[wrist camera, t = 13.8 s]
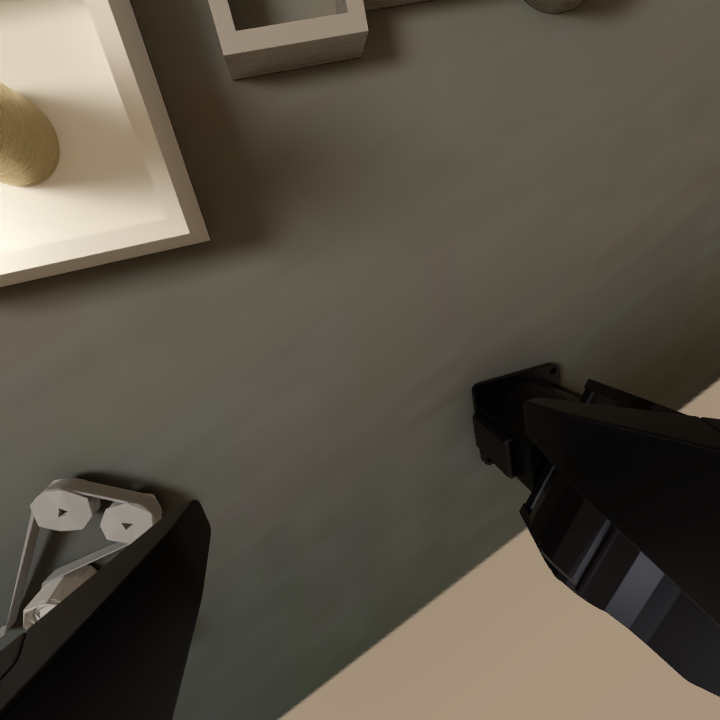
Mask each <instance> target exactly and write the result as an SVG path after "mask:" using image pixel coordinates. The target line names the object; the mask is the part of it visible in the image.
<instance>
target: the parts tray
mask: <svg viewBox="0 0 720 720" xmlns="http://www.w3.org/2000/svg"><path fill="white" fill-rule="evenodd" d="M0 82H1V83H3V84H4V85H6V86H7V87H9V88H11V89H12V90H14V91H15V92H17V93H18V94H20V95H22V96H23V97H25V98H26V99H28V100H29V101H31V102H32V103H34V104H35V105H36V106H37V107H38V108H39V109H40V110H41V111H42V112H43V113H44V114H45V115H46V116H47V118H48V119H49V121H50V122H51V124H52V125H53V127H54V129H55V131H56V134H57V137H58V141H59V147H60V157H59V162H58V165H57V167H56V169H55V171H54V173H53V174H52V175H51V176H50V177H49V178H48V179H47V180H45V181H44V182H42V183H40V184H38V185H35V186H30V187H16V186H11V185H7V184H4V183H0V287H4V286H9V285H13V284H18V283H22V282H27V281H31V280H36V279H40V278H44V277H49V276H53V275H58V274H62V273H67V272H71V271H76V270H80V269H85V268H89V267H94V266H98V265H103V264H107V263H112V262H116V261H121V260H125V259H130V258H134V257H139V256H143V255H148V254H152V253H157V252H161V251H166V250H170V249H175V248H179V247H184V246H188V245H193V244H197V243H202V242H206V241H211V240H210V238H209V235H208V232H207V229H206V226H205V223H204V220H203V217H202V214H201V211H200V208H199V205H198V202H197V199H196V196H195V193H194V190H193V187H192V184H191V181H190V178H189V175H188V172H187V169H186V166H185V163H184V160H183V157H182V155H181V152H180V149H179V146H178V143H177V140H176V137H175V134H174V131H173V128H172V125H171V122H170V119H169V116H168V113H167V110H166V107H165V104H164V101H163V98H162V95H161V92H160V89H159V86H158V83H157V80H156V77H155V74H154V71H153V69H152V66H151V63H150V60H149V57H148V54H147V51H146V48H145V45H144V42H143V39H142V36H141V33H140V30H139V27H138V24H137V21H136V18H135V15H134V12H133V9H132V6H131V3H130V0H0Z"/></svg>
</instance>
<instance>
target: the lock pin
mask: <svg viewBox="0 0 720 720" xmlns="http://www.w3.org/2000/svg"><path fill="white" fill-rule="evenodd" d="M59 157H60V147H59V141H58V137H57V134H56V131H55V129H54V127H53V125H52V124H51V122H50V121H49V119H48V118H47V116H46V115H45V114H44V113H43V112H42V111H41V110H40V109H39V108H38V107H37V106H36V105H35V104H34V103H32V102H31V101H29V100H28V99H26V98H25V97H23V96H22V95H20V94H18V93H17V92H15V91H14V90H12V89H11V88H9V87H7V86H6V85H4V84H3V83H1V82H0V183H4V184H7V185H11V186H16V187H30V186H35V185H38V184H40V183H42V182H44V181H45V180H47V179H48V178H49V177H50V176H51V175H52V174H53V173H54V171H55V169H56V167H57V165H58V162H59Z"/></svg>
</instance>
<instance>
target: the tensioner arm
mask: <svg viewBox="0 0 720 720" xmlns="http://www.w3.org/2000/svg"><path fill="white" fill-rule="evenodd" d="M423 1H429V0H335V2H336V7H337V12H338V14H336V15H330V16H324V17H318V18H312V19H306V20H300V21H294V22H288V23H282V24H276V25H270V26H264V27H258V28H251V29H245V30H239V31H236V29H235V26H234V22H233V18H232V14H231V11H230V7H229V3H228V0H208V2H209V5H210V9H211V12H212V16H213V19H214V23H215V26H216V30H217V33H218V37H219V41H220V44H221V48H222V51H223V55H224V58H225V60H226V63H227V66H228V68H229V71H230V74H231V76H232V79H233V80H237V79H242V78H248V77H253V76H259V75H264V74H270V73H276V72H281V71H287V70H292V69H298V68H304V67H309V66H315V65H320V64H326V63H332V62H337V61H343V60H348V59H354V58H360V57H362V53H363V50H364V46H365V42H366V38H367V34H368V25H367V20H366V14H365V11H368V10H374V9H380V8H386V7H392V6H398V5H404V4H410V3H416V2H423ZM525 1H526V2H527V3H529V4H530V5H531V6H533V7H534V8H536V9H538V10H540V11H543V12H546V13H561V12H565V11H568V10H570V9H572V8H574V7H575V6H577V5H579V4H580V3H581V2H582V1H583V0H525Z"/></svg>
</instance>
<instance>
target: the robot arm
mask: <svg viewBox="0 0 720 720" xmlns="http://www.w3.org/2000/svg"><path fill="white" fill-rule="evenodd" d="M551 368H552V371H551V372H550V369H551ZM480 388H482V390H481V392H479V393H478V390H479V389H480ZM584 388H586V389H585V391H584V393H583V395H581V394H579V393H576V392H574V391H572V390H569V389H567V388H565V387H563V386H561V385H560V369H559V366H558V365H556V364H554V363H546V364H543V365H539V366H536V367H532V368H529V369H525V370H522V371H518V372H515V373H511V374H508V375H504V376H500V377H497V378H493V379H490V380H486V381H483V382H479V383H477V384H475V385H474V386H473V387H472V397H473V404H474V411H475V413H474V415H473V424H474V431H475V438H476V445H477V447H478V448H479V449H480V454H481V459H482V461H483V462H484V463H485V464H487V465H491V464H495V465H496V466H497V467H498V468H499V469H500V470H501V471H502V472H503V473H504V474H505V475H506V476H508V477H509V478H511V479H512V478H515V477H517V478H518V479H519V480H520V481H521V482H522V483H523V484H524V485H525V486H526V487H527V488H528V489H529V490H530V491H531V494H530V496H529V498H528V500H527V502H526V504H525V503H524V504H523V505H522V507H521V509H520V511H519V512H520V514H521V516H522V518H523V520H524V522H525V524H526V526H527V527H528V529H529V531H530V533H531V535H532V537H533V539H534V541H535V543H536V545H537V547H538V548H539V551H540V552H541V554H542V556H543V558H544V560H545V562H546V563H547V565H548V567H549V568H550V569H551V570H552V572H553V574H554V576H555V577H556V578H557V579H558V580H560V581H562V582H563V583H564V584H565V585H566V586H567V587H569V588H570V589H571V590H572V591H573V592H574V593H576V594H577V595H578V596H580V597H581V598H583V599H584V600H585V601H587V602H589V603H590V604H592V605H594V606H595V607H597V608H599V609H601V610H603V611H605V612H607V613H608V614H610V615H611V616H612V617H614V618H615V619H616V620H617V621H619V622H620V623H622V624H623V625H624V626H625V627H627V628H628V629H629V630H630V631H632V632H633V633H634V634H635V635H636V636H637V637H639V638H640V639H641V640H642V641H643V642H644V643H646V644H647V645H648V646H649V647H650V648H651V649H652V650H653V651H654V652H656V653H657V654H658V655H659V656H660V657H661V658H662V659H664V661H666V662H667V663H668V664H669V665H670V666H671V667H672V668H673V669H674V670H675V671H677V672H678V673H679V674H680V675H681V676H682V677H683V678H685V679H686V680H687V681H689V682H690V683H692V684H694V685H696V686H699V687H701V688H703V689H705V690H707V691H709V692H711V693H713V694H715V695H717V696H719V697H720V419H714V418H705V417H702V418H699V417H696V416H688V415H686V414H683V413H680V412H678V411H675V410H672V409H670V408H667V407H664V406H662V405H659V404H656V403H654V402H651V401H648V400H645V399H643V398H640V397H637V396H635V395H632V394H629V393H626V392H624V391H621V390H618V389H615V388H613V387H610V386H607V385H604V384H602V383H599V382H596V381H594V380H591V379H588V380H587V382H586V384H585V386H584ZM487 458H489V459H487ZM210 537H211V528H210V524H209V522H208V519H207V517H206V515H205V513H204V510H203V508H202V506H201V504H200V502H199V501H198V500H196V499H193V500H190V501H186V502H183V503H180V504H178V505H177V506H176V507H175V508H173V509H172V510H171V511H170V512H169V513H167V514H166V515H165V516H164V517H163V518H161V519H160V520H159V521H158V522H157V523H155V524H154V525H153V526H152V527H150V528H149V529H148V530H147V531H146V532H144V533H143V534H142V535H141V536H140V537H138V538H137V539H136V540H135V541H134V542H132V543H131V544H130V545H129V546H127V547H126V548H125V549H124V550H123V551H121V552H120V553H119V554H118V555H117V556H115V557H114V558H113V559H112V560H111V561H109V562H108V563H107V564H106V565H104V566H103V567H102V568H101V569H100V570H98V571H97V572H96V573H95V574H94V575H92V576H91V577H90V578H89V579H88V580H86V581H85V582H84V583H83V584H81V585H80V586H79V587H78V588H77V589H75V590H74V591H73V592H72V593H71V594H69V595H68V596H67V597H66V598H64V599H63V600H62V601H61V602H60V603H58V604H57V605H56V606H55V607H54V608H52V609H51V610H50V611H49V612H48V613H46V614H45V615H44V616H43V617H41V618H40V619H39V620H38V621H37V622H35V623H34V624H33V625H32V626H31V627H29V628H28V630H27V632H26V633H22V634H21V635H20V636H18V637H17V638H16V639H15V640H14V641H12V642H11V643H10V644H9V645H7V646H6V647H5V648H4V649H3V650H1V651H0V720H172V719H173V715H174V711H175V707H176V703H177V699H178V694H179V690H180V686H181V682H182V678H183V674H184V670H185V666H186V661H187V657H188V653H189V649H190V645H191V641H192V637H193V633H194V628H195V624H196V620H197V616H198V612H199V608H200V603H201V599H202V594H203V588H204V581H205V574H206V566H207V559H208V552H209V544H210Z"/></svg>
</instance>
